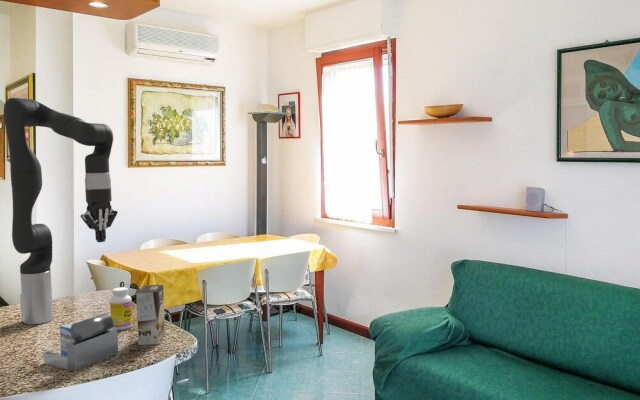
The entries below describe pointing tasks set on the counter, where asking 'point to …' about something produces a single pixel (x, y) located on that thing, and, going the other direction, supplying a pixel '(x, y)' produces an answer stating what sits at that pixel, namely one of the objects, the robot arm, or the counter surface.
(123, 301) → the supplement bottle
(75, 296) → the counter surface
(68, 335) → the medicine box
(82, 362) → the motor dock
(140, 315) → the coffee box
